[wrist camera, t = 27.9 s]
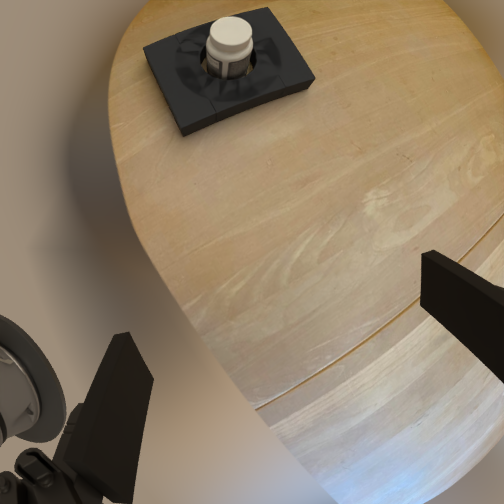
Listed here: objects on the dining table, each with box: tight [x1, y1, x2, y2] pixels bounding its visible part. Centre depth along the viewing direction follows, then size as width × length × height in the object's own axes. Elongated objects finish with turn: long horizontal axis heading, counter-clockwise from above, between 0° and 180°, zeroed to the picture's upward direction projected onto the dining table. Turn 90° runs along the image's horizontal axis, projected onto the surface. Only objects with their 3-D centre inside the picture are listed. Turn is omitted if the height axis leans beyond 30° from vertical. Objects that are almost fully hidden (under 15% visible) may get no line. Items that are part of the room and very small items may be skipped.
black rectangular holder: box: [143, 7, 316, 137], centre depth 29 cm, size 16×12×3 cm
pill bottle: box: [206, 17, 253, 80], centre depth 27 cm, size 5×5×8 cm
